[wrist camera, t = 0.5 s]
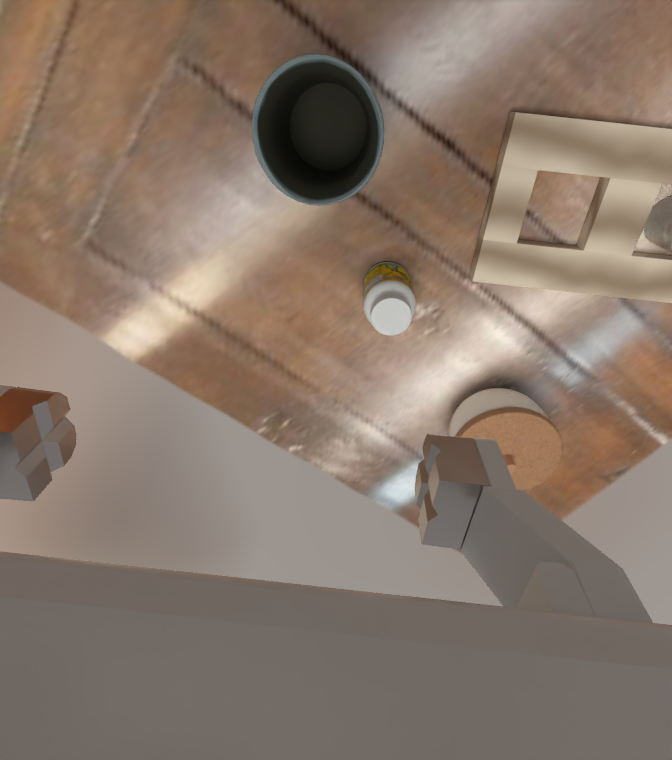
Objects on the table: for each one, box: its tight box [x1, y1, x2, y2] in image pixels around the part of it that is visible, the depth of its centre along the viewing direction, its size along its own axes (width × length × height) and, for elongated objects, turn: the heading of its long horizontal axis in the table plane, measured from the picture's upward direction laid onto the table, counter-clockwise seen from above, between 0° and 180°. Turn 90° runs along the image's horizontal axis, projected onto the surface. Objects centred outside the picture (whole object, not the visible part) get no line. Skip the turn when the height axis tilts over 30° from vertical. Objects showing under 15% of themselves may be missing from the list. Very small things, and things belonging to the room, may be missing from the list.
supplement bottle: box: [363, 262, 416, 335], centre depth 49 cm, size 5×5×10 cm
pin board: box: [469, 112, 672, 303], centre depth 47 cm, size 16×26×2 cm, turn 85°
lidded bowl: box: [448, 388, 563, 491], centre depth 56 cm, size 13×13×11 cm
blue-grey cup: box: [252, 54, 384, 205], centre depth 40 cm, size 10×10×12 cm
